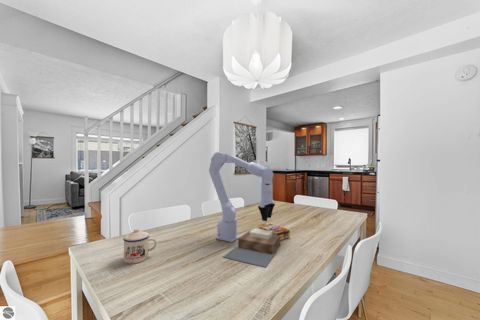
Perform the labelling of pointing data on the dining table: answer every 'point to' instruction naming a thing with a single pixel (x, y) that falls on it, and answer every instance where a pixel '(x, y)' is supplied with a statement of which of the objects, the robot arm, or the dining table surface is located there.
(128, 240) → the teacup with lid
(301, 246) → the dining table surface
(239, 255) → the slate mat
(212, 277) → the dining table surface
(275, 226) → the candy box
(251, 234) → the cream rectangular block
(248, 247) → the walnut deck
